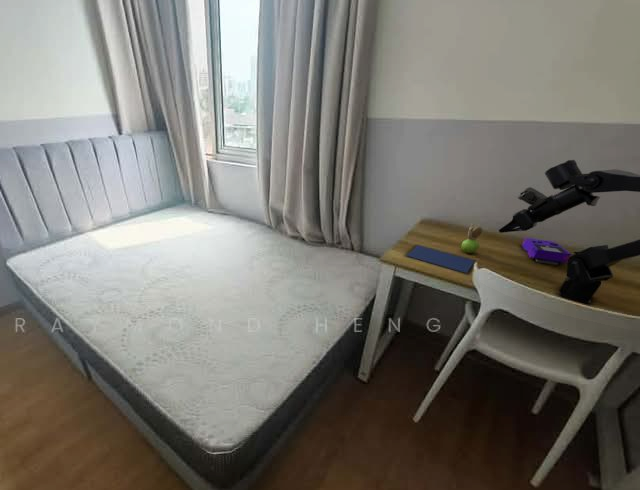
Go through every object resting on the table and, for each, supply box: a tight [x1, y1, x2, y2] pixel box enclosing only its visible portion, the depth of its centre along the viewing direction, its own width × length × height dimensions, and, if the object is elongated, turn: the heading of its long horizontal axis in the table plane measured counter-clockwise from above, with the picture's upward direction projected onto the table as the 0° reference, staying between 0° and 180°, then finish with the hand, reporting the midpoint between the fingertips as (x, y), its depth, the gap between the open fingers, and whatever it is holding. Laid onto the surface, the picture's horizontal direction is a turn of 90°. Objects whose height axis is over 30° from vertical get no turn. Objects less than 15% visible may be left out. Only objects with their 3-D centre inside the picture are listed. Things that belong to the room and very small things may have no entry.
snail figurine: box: [460, 223, 483, 254], centre depth 116 cm, size 5×6×12 cm
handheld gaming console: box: [522, 237, 572, 266], centre depth 115 cm, size 9×5×15 cm
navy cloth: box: [406, 245, 476, 275], centre depth 116 cm, size 20×12×1 cm, turn 46°
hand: (505, 228), depth 106 cm, fingers open, 9 cm apart
